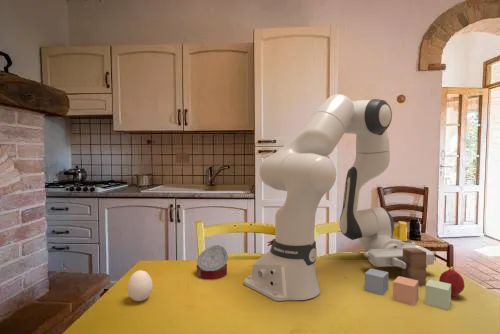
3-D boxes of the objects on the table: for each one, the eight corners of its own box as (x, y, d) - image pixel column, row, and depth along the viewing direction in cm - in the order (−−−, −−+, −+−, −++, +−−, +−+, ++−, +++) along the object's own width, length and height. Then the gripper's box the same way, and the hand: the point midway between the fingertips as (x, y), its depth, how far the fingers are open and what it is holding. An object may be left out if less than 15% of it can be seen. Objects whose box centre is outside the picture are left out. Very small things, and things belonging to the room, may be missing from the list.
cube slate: (364, 290, 89) (364, 273, 89) (370, 284, 93) (370, 268, 93) (382, 295, 86) (382, 277, 86) (388, 289, 90) (388, 272, 90)
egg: (138, 308, 79) (137, 277, 79) (122, 302, 82) (121, 272, 82) (157, 298, 84) (157, 269, 84) (141, 292, 88) (141, 265, 87)
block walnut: (402, 280, 96) (402, 248, 96) (415, 279, 97) (416, 247, 96) (411, 286, 92) (412, 252, 91) (425, 285, 92) (426, 252, 92)
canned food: (227, 286, 103) (239, 263, 100) (202, 292, 96) (213, 267, 93) (211, 262, 111) (221, 240, 107) (186, 266, 104) (196, 242, 101)
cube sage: (425, 304, 81) (425, 285, 81) (429, 297, 85) (429, 279, 85) (447, 310, 78) (448, 290, 78) (450, 302, 82) (451, 284, 81)
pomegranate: (468, 301, 82) (469, 271, 82) (444, 299, 83) (444, 270, 83) (458, 292, 88) (458, 264, 87) (435, 290, 89) (436, 262, 89)
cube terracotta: (393, 300, 83) (393, 281, 83) (398, 293, 87) (398, 276, 87) (413, 305, 80) (414, 286, 80) (418, 298, 84) (418, 280, 84)
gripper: (361, 243, 105) (383, 256, 92) (417, 241, 108) (447, 254, 94) (360, 261, 106) (382, 277, 92) (417, 259, 108) (446, 274, 94)
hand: (415, 265), depth 93 cm, fingers closed on block walnut, 4 cm apart
